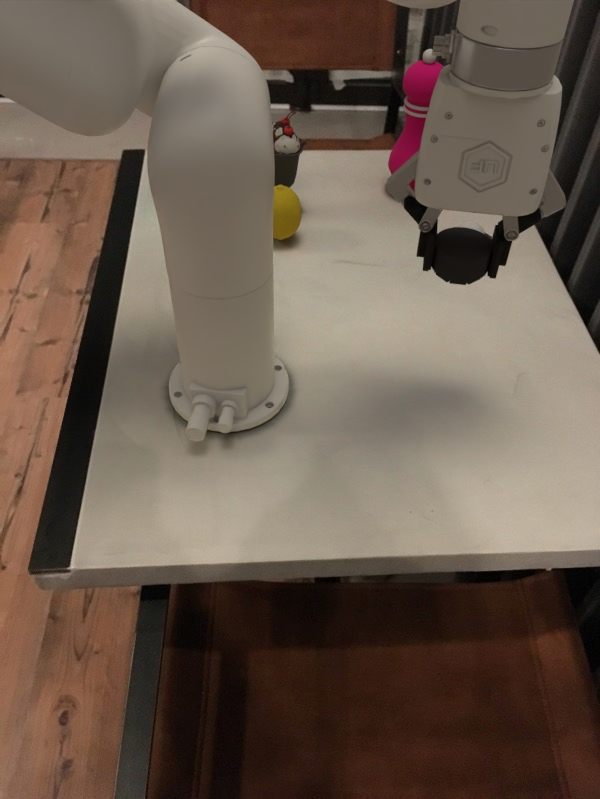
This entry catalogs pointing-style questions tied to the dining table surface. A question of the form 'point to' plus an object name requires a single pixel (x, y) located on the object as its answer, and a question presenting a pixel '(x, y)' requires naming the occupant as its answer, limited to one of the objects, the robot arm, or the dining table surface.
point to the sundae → (286, 152)
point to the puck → (461, 255)
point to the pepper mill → (415, 109)
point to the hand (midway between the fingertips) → (459, 264)
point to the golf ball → (472, 225)
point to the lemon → (285, 212)
